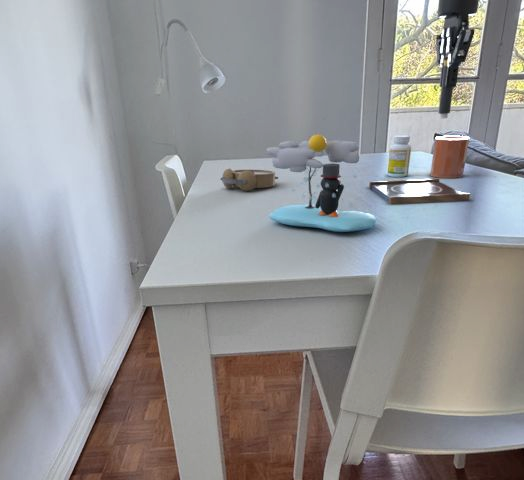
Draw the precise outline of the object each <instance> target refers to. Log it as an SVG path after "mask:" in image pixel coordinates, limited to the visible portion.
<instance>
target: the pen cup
mask: <svg viewBox="0 0 524 480" xmlns="http://www.w3.org/2000/svg"><path fill="white" fill-rule="evenodd" d="M469 142H470V137H469V136H463V135H462V136H460V135H443V136H436V137H435V139H434V145H433V151H432V160H431V167H430V176H431V177H433V178H437V179H457V178H462V177H464V173H465V172H464V171H465V166H466V160H467V156H468V155H467V154H468V149H469Z"/></svg>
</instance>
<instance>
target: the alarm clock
mask: <svg viewBox="0 0 524 480" xmlns="http://www.w3.org/2000/svg"><path fill="white" fill-rule="evenodd" d="M276 180H279V176H276V171H273V170H267V169H234V170H232V168H226V169H225V170H224V171H223V172H222V176H221V177H220V181H222V184H223V185H224V187H225V188H226V189H228V190H231V189H233V187H239V189H240V190H242V191H244V192H250V191H253V190H254V189H257V188H271V187H275V186H276Z"/></svg>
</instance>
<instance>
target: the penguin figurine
mask: <svg viewBox="0 0 524 480" xmlns="http://www.w3.org/2000/svg"><path fill="white" fill-rule="evenodd" d="M359 150H360V147H359V144H358V143H357V142H356V141H351V140H342V139H334V140H328V141H327V139H326V137H325V136H324V135H322V134H319V133H318V134H314V135H312V136H311V137H310V136H309V140H305V141H301V142H300V143H298V142H297V141H294V140H286V141H282V142H279V146H271V147H267V148H266V152H267V154H268V155H269V156H272V157H273V159H272V161H271V162H272V166H273V167H274V168H275V169H280V170H281V169H282V170H286V169H287V170H288V169H289V171H290V172H292V173H303V172H304V174H305V175H307V174H308V177H307V176H304V177H303V179H304V182H302V183H301V182H300V184H301V187H303V188H305V187H306V185H305V183H308V194H309V195H308V204H293V205H284V206H281V207H278V208H276V209H275V210H273V211H272V212H271V213H270V214H269V215H268V217H269V218H270V220H272V221H274V222H277V223H279V224H282V225H287V226H294V227H302V228H303V227H304V228H316V229H321V230H325V231H329V232H330V231H331V232H335V233H336V232H337V233H350V232H356V231H363V230H367V229H370V228H372V227H374V226H375V224H376V223H377V218H376V217H375V215H373V214H372V213H368V212H364V211H360V210H359V211H358V210H340V211H339V210H338V208H339V201H340V202H342V203H343V202H344V198H341V197H342V194H343V191H344V189H345V185H344V183H343V184H342V179H341V177H342V175H341V174H340V164H341V163H342V162H343V163H346V164H357V163H358V162H359V161H360V154H359V152H356V151H359ZM324 152H325V153H326V154H327V158H328V161H329V162H330V163H322V162H321V161H320V160H318V159H316V157H323V156H324ZM339 163H340V164H339ZM308 168H309V169H308ZM321 168H322V174H321V175H320V177H321V178H322V179H321V181H320V184H319V183H318V182H317V183H316V184H315V188H316V189H317V190H318V188H321V190H320V191H319V194H318V197H317V196H316V191H314V193H313V194H312V185H311V180H312V177H315V176H316V175H317V172H318V169H321ZM312 169H313V170H312ZM316 169H317V170H316ZM311 173H312V174H311ZM353 179H355V180H357V179H358V175H353ZM295 191H296V189H295V188H290V192H291V194H294V193H296V192H295ZM304 193H305V192H303V193H301V194H300V195H301V198H302V199H305V198H306V194H304ZM312 202H313V203H314V204H313V203H312ZM347 206H348V207H349V208H350V207H352V206H353V203H351V202H350V201H349V202H348V205H347Z"/></svg>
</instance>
